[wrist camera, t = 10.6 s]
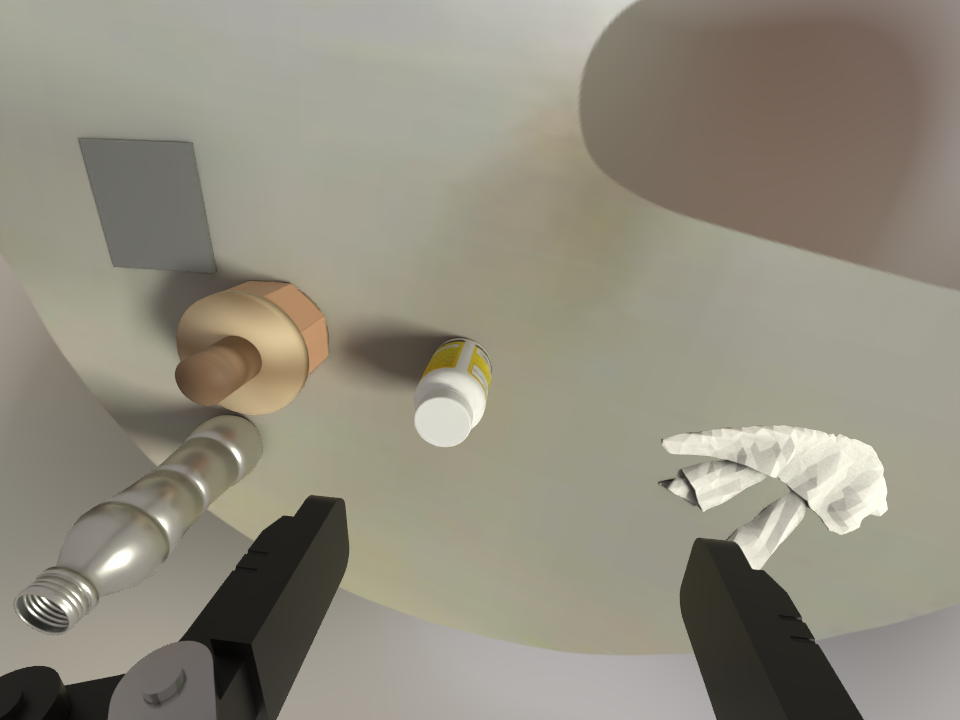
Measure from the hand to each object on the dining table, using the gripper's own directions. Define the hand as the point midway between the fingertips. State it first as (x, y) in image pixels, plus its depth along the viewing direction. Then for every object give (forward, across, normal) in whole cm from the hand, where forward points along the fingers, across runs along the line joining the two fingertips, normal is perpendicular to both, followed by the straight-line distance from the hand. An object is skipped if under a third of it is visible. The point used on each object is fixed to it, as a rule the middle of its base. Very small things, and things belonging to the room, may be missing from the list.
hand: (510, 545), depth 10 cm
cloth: (+29, -22, +19) cm, 41 cm away
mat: (+28, +31, -4) cm, 42 cm away
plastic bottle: (+28, +27, +18) cm, 43 cm away
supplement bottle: (+28, +5, +8) cm, 30 cm away
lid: (+23, +21, +6) cm, 32 cm away
